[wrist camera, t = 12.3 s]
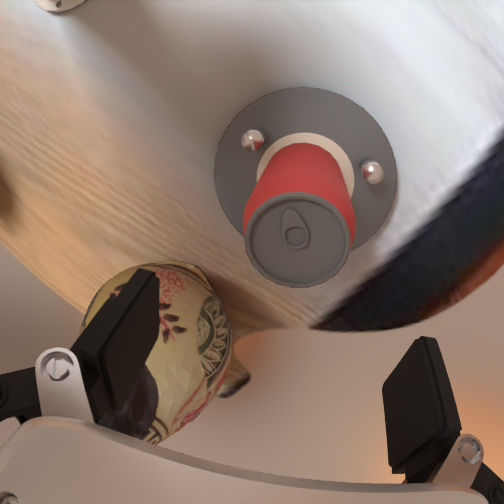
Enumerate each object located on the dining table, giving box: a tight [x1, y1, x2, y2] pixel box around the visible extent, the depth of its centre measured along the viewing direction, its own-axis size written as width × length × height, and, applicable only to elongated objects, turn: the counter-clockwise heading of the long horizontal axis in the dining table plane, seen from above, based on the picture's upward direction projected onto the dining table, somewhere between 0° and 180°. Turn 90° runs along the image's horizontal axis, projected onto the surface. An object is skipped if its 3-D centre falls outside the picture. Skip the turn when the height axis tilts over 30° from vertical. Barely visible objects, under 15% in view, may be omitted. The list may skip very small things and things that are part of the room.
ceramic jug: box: [78, 230, 233, 445], centre depth 25 cm, size 17×16×30 cm
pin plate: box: [214, 87, 397, 251], centre depth 28 cm, size 16×16×2 cm
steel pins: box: [241, 127, 384, 184], centre depth 27 cm, size 10×11×2 cm
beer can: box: [243, 142, 355, 288], centre depth 22 cm, size 7×7×12 cm
